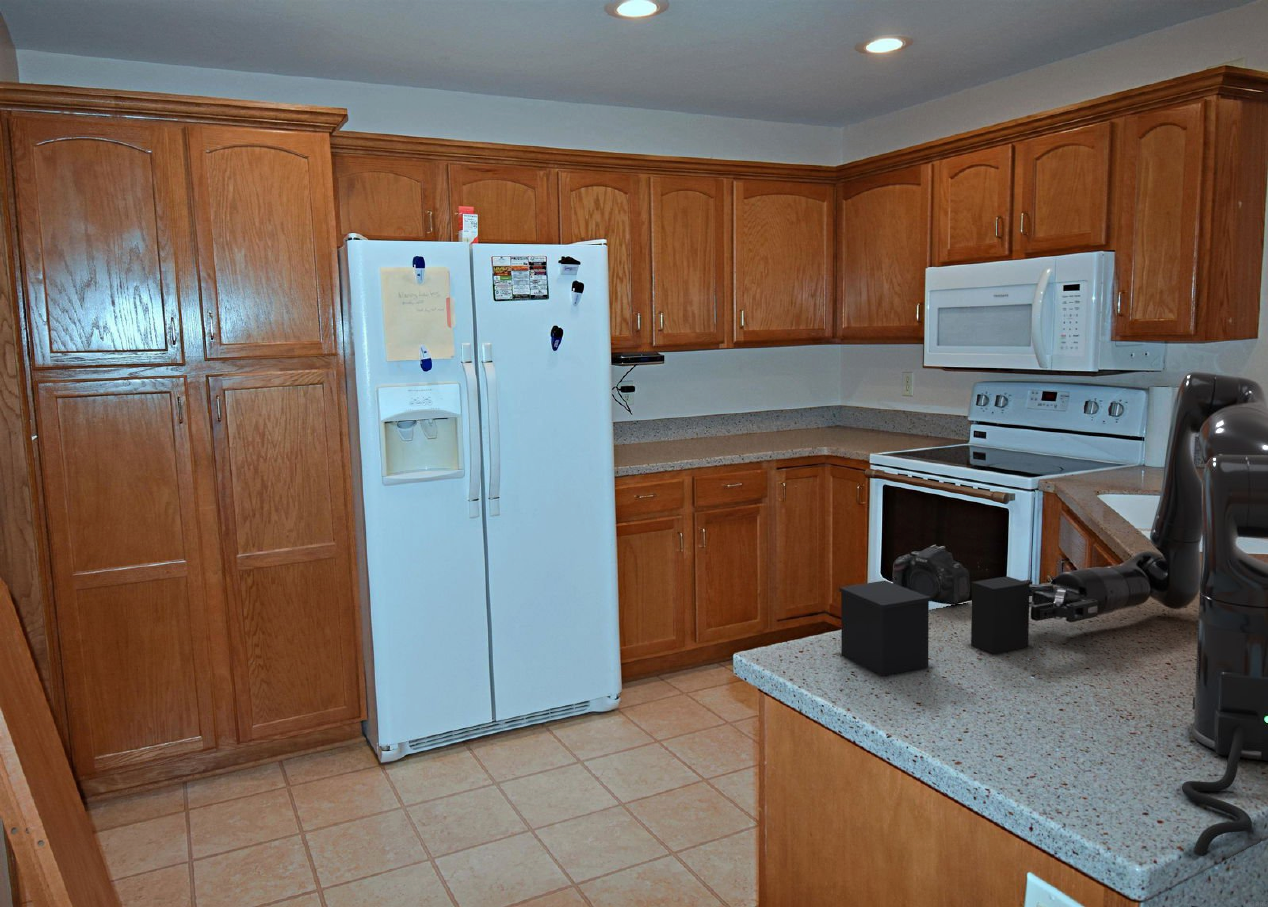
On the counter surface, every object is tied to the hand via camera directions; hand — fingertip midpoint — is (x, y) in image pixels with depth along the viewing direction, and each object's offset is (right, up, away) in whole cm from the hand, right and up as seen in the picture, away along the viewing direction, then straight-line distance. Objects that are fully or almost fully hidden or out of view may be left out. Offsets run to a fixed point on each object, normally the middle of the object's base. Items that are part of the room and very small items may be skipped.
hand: (1011, 606), depth 135 cm
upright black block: (-2, -6, 0) cm, 6 cm away
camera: (-4, -3, +25) cm, 25 cm away
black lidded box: (-21, -7, -4) cm, 22 cm away
